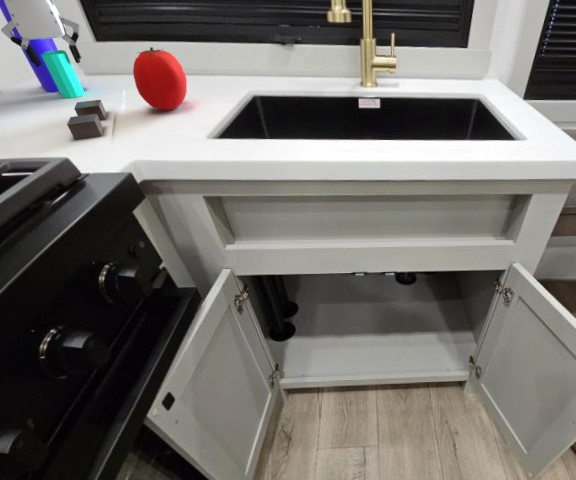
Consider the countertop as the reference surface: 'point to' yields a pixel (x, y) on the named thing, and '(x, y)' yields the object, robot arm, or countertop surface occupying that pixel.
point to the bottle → (39, 48)
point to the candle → (63, 73)
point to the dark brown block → (91, 108)
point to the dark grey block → (85, 126)
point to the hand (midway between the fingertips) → (59, 63)
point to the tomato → (160, 79)
